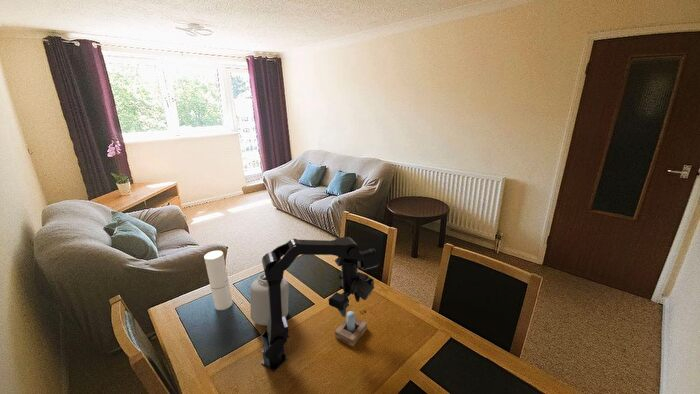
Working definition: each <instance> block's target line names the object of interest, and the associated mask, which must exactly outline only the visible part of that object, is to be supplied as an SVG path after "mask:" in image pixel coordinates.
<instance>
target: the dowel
mask: <svg viewBox="0 0 700 394" xmlns="http://www.w3.org/2000/svg"><path fill="white" fill-rule="evenodd" d="M355 317H356V313H355V312H354V311H352V310H351V311H346V318H347V331H349V332H351V333H354V332H355Z"/></svg>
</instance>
